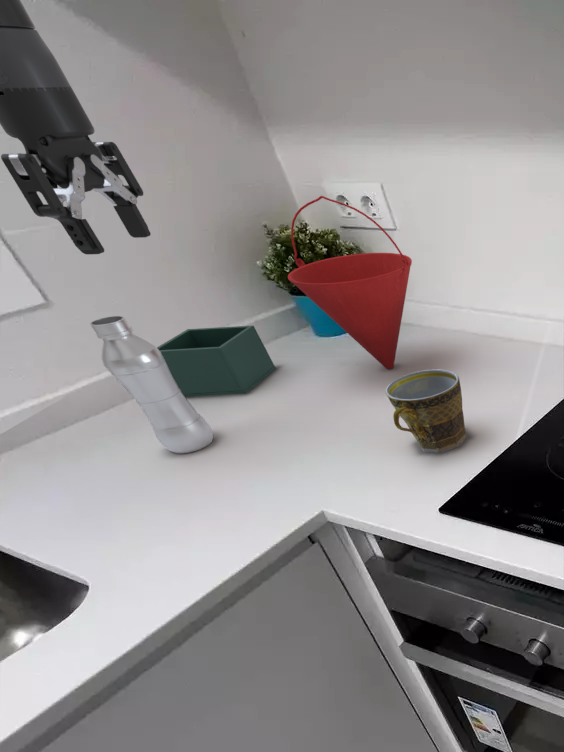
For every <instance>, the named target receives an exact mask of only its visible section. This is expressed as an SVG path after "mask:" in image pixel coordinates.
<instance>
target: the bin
mask: <svg viewBox="0 0 564 752" xmlns="http://www.w3.org/2000/svg"><path fill="white" fill-rule="evenodd" d="M156 348H157V349H158V350H160V352H161V353H162V355H163V357H164V359H165V361H166V363H167V366H168V368H169V370H170V372H171V374H172V376H173V378H174V380H175V382H176V383H177V385H178V388H179V389H180V390H181V392H182V393H183V395H184V396H185V398H192V397H193V398H194V397H208V396H224V395H225V396H226V395H239V394H240V395H241V394H242V395H243V394H248V393H249V392H250V391H252V390H253V389H254V388H255V387H256V386H257V385H258V384H260V383H261V382H262V381H263V380H264V379H265V378H267V377H268V376H269V375H270V374H271V373H272V372H274V371H275V370H276V369H277V367H276V366H275V364H274V362H273V360H272V359H271V357H270V354H269V352H268V351H267V349H266V347H265V345H264V342H263V341H262V339H261V337H260V335H259V334H258V331H257V329H256V327H255V325H237V326H235V325H234V326H221V327H220V326H219V327H201V328H187V329H185V330H184V331H182V332H181V333H179V334H177V335H175V336H173V337H172V338H171V339H170V338H169V340H167V341H165V342H163V343H162V344H160V345H158V346H156Z"/></svg>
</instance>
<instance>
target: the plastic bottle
mask: <svg viewBox="0 0 564 752" xmlns="http://www.w3.org/2000/svg"><path fill="white" fill-rule="evenodd" d="M89 324H90V327H91V328H92V329H93V331H94V332H95V335H96V337H97V338H98V339H102V341H103V342H102V347H101V356H100V357H101V361H102V363H103V366H104V368H105V369H106V370H107V371H108V372H109V373H110V374H111V375H112V376H113V377H114V378H115V379H116V381H117V382H119V384H120V385H121V386H122V387H123V388H124V389H125V390H126V391H127V392H128V394H129V395H130V396H131V397H132V399H134V401H135V402H136V404H137V405H138V406H139V407H140V408H141V410H142V412H143V414H144V416H145V417H146V419H147V420H148V422H149V423H150V426H151V427H152V431H153V433H154V434H155V436H156V438H157V440H158V442H159V443H160V444H161V445H162V446H163V447H164V448H165V449H166V450H168V451H170V452H172V453H175V454H187V453H188V454H189V453H193V452H196V451H199V450H201V449H204V448H206V447H208V446H209V445H210V444H211V443H212V442H213V440H214V432H213V431H212V427H211V425H210V424H209V423H208V422H207V420H206V419H205V418H204V417H203V416H202V415H201V414H200V413H198V411H197V410H196V409H195V407H193V405H192V404H191V402H190V401H189V399H187V397H185V396H184V395H183V393H182V392H181V390H180V389H179V388H178V385H177V383H176V382H175V380H174V378H173V376H172V374H171V372H170V370H169V368H168V366H167V363H166V361H165V359H164V357H163V355H162V353H161V352H160V350H158V349H157V346H155V345H154V344H153V343H150V342H149V341H147V340H145V339H144V338H142V337H139V336H138V335H136V334H134V328H133V327H132V326H131V325H130V324H129V323H128V321H127V319H126V318H125V317H124V316H123V315H112V316H106V317H102V318H98V319H94V320H93V321H91V322H90V323H89Z"/></svg>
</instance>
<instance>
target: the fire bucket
mask: <svg viewBox="0 0 564 752" xmlns="http://www.w3.org/2000/svg"><path fill="white" fill-rule="evenodd" d="M322 199H324V200H326V201H329V202H332V203H335V204H338V205H341V206H343V207H344V206H345V208H348V209H351V210H353V211H355V212H357V213H359V214H361V215H362V216H364V217H365V218H367V219H368V220H369V221H370V222H372V223H374V224H375V225H376V226H377V227H378V228H379V229H380V230H381V231H382V232H383V234H385V235H386V237H387V238H388V239H389V240H390V241H391V243H392V244H393V246H394V247H395V248H396V250H397V251H398V253H395V252H365V253H354V254H353V253H352V254H346V255H340V256H334V257H329V258H325V259H321V260H316V261H313V262H309V263H305V262H304V260H302V259H301V258H298V251H297V249H296V244H295V238H294V227H295V223H296V220H297V218H298V216H299V214H300V213H301V212H302V211H303V210H304V209H306V208H307V207H309V206H311V205H312V204H314V203H317V202H319V201H320V200H322ZM290 238H291V244H292V248H293V252H294V257H293V258H294V261H295V265H296V266H297V268H295V269H293V270H292V271H290V272H289V273H288V275H287V279H288V281H289V282H290V283H292V284H293V285H294V286H295V287H297V288H298V289H299V290H300V291H301V293H303V294H304V295H305V296H306V297H307V298H309V299H310V300H311V301H312V302H313V303H314V304H315V305H316V306H317V307H318V308H319V309H320V310H322V311H323V312H324V313H325V314H326V315H327V316H328V317H329V318H330V319H332V320H333V321H334V322H335V323H336V324H337V325H338V326H339V327H340V328H341V329H342V330H343V331H344V332H345V333H347V334H348V335H349V336H350V337H351V338H352V339H353V340H354V341H356V342H357V344H359V345H360V346H361V347H362V348H363V349H364V350H365V351H367V352H368V354H370V355H371V356H372V357H373V358H374V359H375V360H376V361H377V362H378V363H379V364H380V365H381V366H382V367H384V368H385V369H386V370H393V369H394V367H395V362H396V356H397V355H396V353H397V349H398V343H399V337H400V331H401V325H402V319H403V313H404V307H405V301H406V295H407V289H408V285H409V277H410V272H411V266H412V263H413V259H412V258H411V257H410V256H408V255H406V254H403V253H402V251H401V250H400V248H399V246H398V245H397V243H396V242H395V241H394V239H393V238H392V237H391V236H390V234H388V232H386V230H385V228H383V227H382V226H381V225H380V224H379V223H378V222H377V221H376V220H375V219H373V218H371V217H370V216H368V215H367V214H366V213H365V212H362V211H361V210H359V209H357V208H356V207H354V206H351V205H349V204H346V203H345V202H344V203H343V202H341V201H337V200H335V199H331V198H329V197H327V196H324V195H320V196H318V197H317V198H316V199H313V200H311V201H309V202H307V203H305V204H304V205H302V206H301V207H300V208H299V209H298V210H297V212H296V213H295V215H294V217H293V218H292V221H291V227H290Z"/></svg>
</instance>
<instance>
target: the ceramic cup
mask: <svg viewBox="0 0 564 752" xmlns="http://www.w3.org/2000/svg"><path fill="white" fill-rule="evenodd" d="M385 395H386V397H387V398H388V400H389V402H390V403H391V405H392V407H393V408H394V412H393V416H392V417H393V423H394V426H395V427H396V429H398V430H400V431H403V432H409V433H410V434H412V435H413V437H414V439H415V441H416V442H417V444H418V445H419V447H420V449H421V451H423V452H424V453H437V454H441V453H444V452H446V451H449V450H453V449H456V448H458V447H459V446H460V445H461V444H462V443H463V442H464V441H465V440H466V438H467V434H466V427H465V416H464V410H463V395H462V387H461V382H460V377H459V375H458V374H457V373H456V372H453V371H451V370H447V369H439V368H438V369H424V370H418V371H414V372H410V373H407V374H405V375H402V376H400V377H398V378H396V379H394V380H392V381H391V382H390V383H389V384H388V385H387V386H386V388H385ZM400 418H401V419H402V420H403V422H404V423H405V424H406V427H408V428H406V427H403V426H401V424H400Z"/></svg>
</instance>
